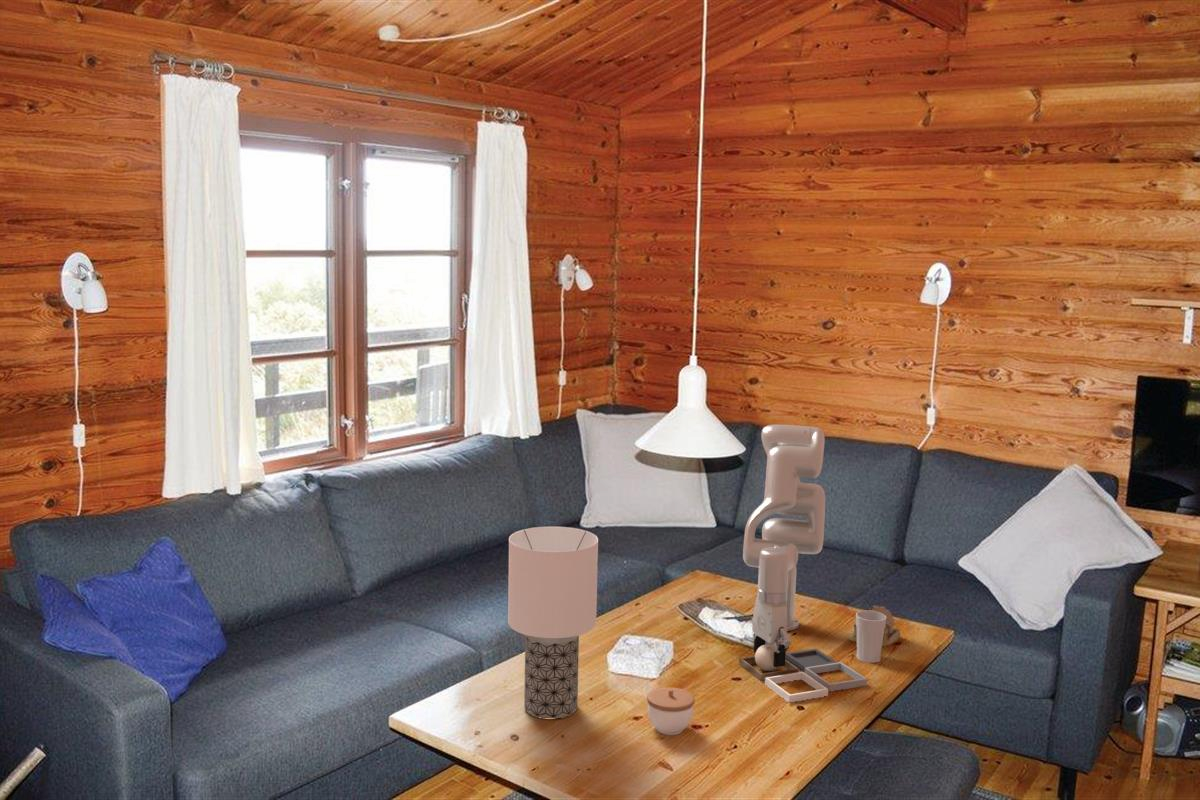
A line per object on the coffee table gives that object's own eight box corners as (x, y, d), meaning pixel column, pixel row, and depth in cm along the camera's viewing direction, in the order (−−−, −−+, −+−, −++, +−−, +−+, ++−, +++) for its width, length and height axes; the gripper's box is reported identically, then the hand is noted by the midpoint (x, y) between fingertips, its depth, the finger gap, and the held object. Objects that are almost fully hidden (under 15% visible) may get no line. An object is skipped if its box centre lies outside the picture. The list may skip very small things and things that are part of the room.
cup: (880, 653, 285) (883, 611, 283) (885, 664, 277) (888, 621, 275) (851, 651, 286) (853, 609, 284) (855, 663, 278) (858, 620, 276)
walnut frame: (739, 664, 275) (739, 658, 275) (775, 659, 279) (775, 652, 279) (761, 681, 265) (761, 674, 264) (798, 675, 269) (799, 668, 269)
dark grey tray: (784, 658, 279) (784, 653, 279) (815, 654, 283) (816, 648, 283) (805, 673, 270) (805, 667, 270) (837, 668, 274) (837, 662, 274)
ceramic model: (872, 650, 287) (874, 616, 285) (841, 637, 296) (844, 603, 295) (906, 641, 295) (908, 607, 293) (876, 628, 304) (878, 595, 302)
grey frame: (804, 674, 270) (804, 667, 269) (840, 668, 274) (840, 662, 274) (829, 691, 259) (829, 684, 259) (866, 685, 264) (866, 678, 263)
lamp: (554, 682, 261) (556, 521, 255) (612, 709, 247) (616, 540, 241) (489, 706, 247) (490, 537, 241) (547, 737, 233) (550, 557, 226)
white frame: (764, 684, 263) (765, 677, 263) (802, 678, 267) (802, 671, 267) (789, 702, 253) (789, 695, 252) (827, 696, 257) (828, 689, 257)
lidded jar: (679, 744, 231) (680, 704, 229) (637, 731, 236) (638, 692, 235) (701, 726, 240) (702, 687, 238) (660, 714, 245) (661, 676, 244)
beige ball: (770, 678, 267) (771, 653, 266) (749, 668, 273) (750, 644, 272) (787, 671, 271) (789, 647, 270) (766, 662, 277) (768, 638, 276)
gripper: (742, 587, 275) (739, 649, 278) (777, 608, 259) (774, 673, 262) (767, 584, 278) (764, 645, 280) (803, 605, 262) (799, 670, 265)
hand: (769, 659), depth 271 cm, fingers open, 9 cm apart
